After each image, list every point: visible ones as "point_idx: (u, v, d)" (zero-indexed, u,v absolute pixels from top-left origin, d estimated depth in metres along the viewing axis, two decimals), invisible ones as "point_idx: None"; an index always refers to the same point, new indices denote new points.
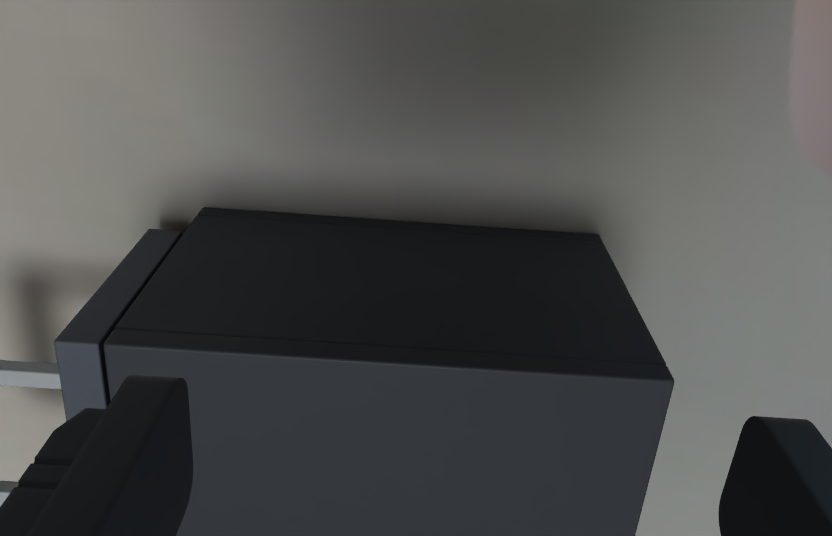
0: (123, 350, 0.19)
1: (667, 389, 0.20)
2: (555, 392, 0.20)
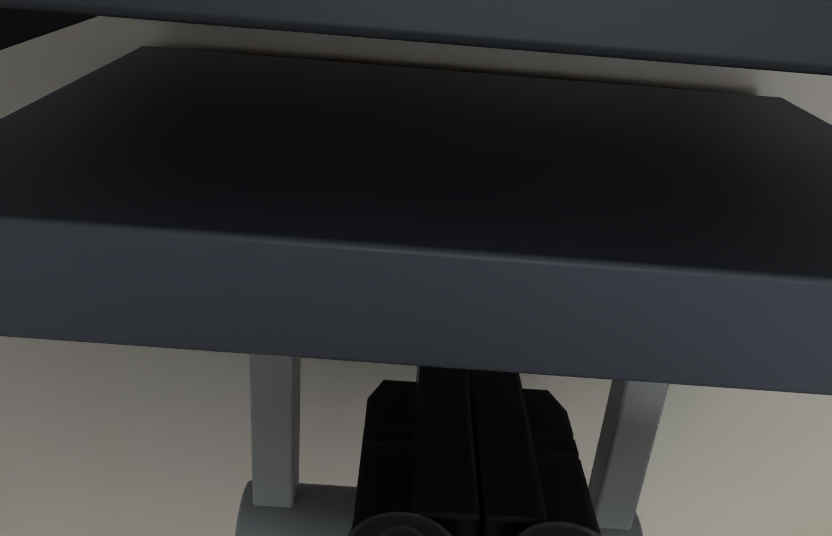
0: None
1: None
2: None
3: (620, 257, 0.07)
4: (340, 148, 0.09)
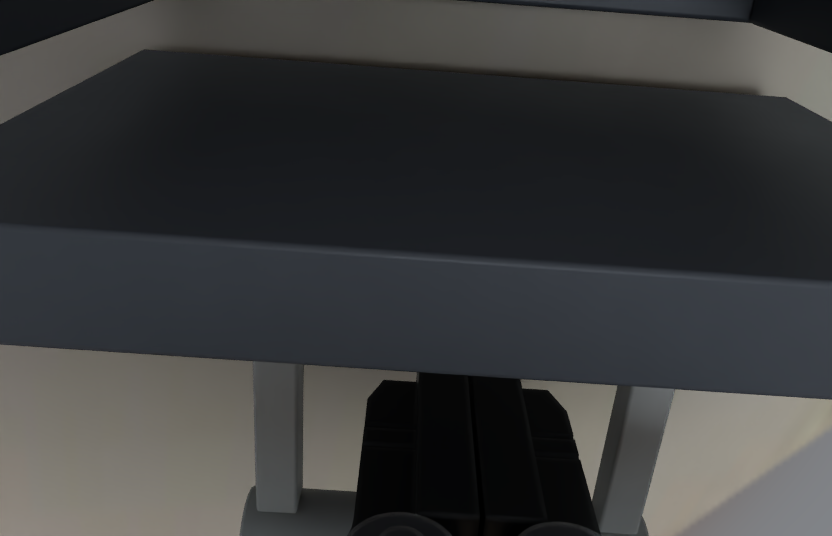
0: None
1: None
2: None
3: (626, 262, 0.07)
4: (343, 152, 0.09)
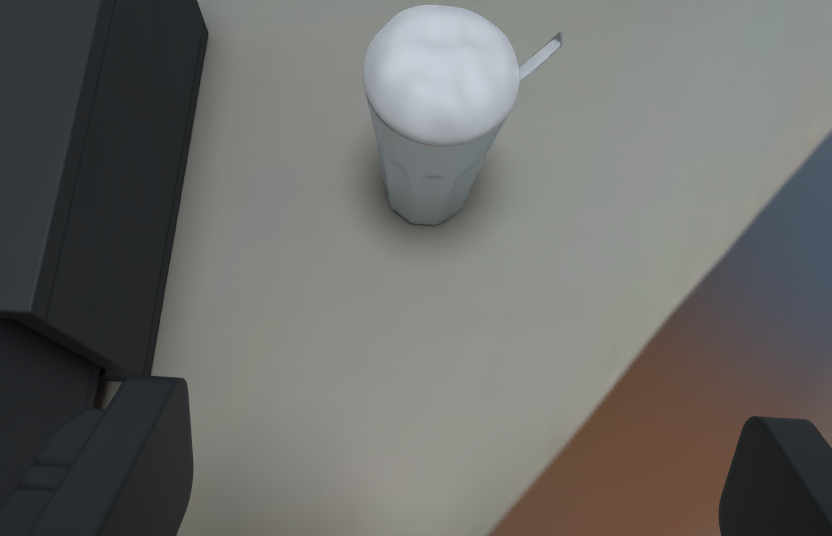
0: None
1: None
2: None
3: None
4: None
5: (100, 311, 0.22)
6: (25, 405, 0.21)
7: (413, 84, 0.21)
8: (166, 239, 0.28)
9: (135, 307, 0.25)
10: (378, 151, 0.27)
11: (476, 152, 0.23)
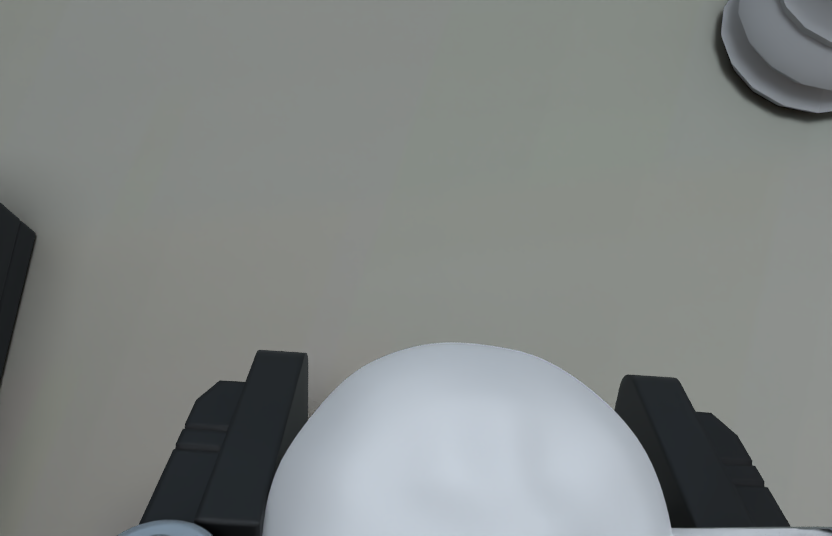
0: None
1: None
2: None
3: None
4: None
5: None
6: None
7: None
8: None
9: None
10: None
11: None
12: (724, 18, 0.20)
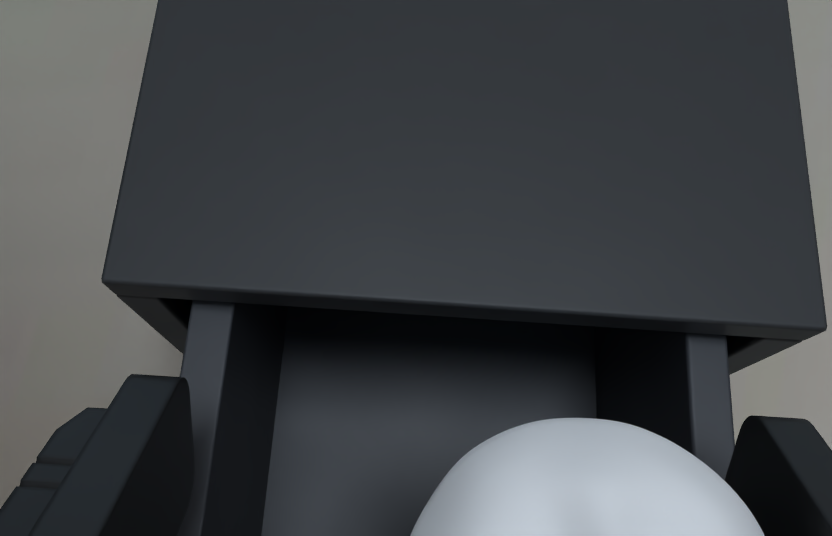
0: (114, 254, 0.13)
1: None
2: None
3: None
4: None
5: None
6: None
7: None
8: None
9: None
10: None
11: None
12: None
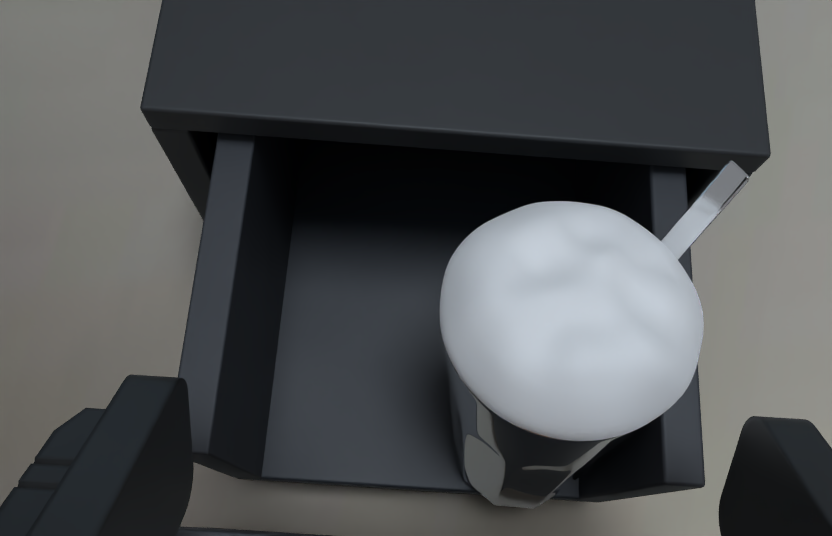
0: (151, 86, 0.15)
1: None
2: None
3: None
4: None
5: None
6: None
7: (579, 357, 0.12)
8: None
9: None
10: (467, 452, 0.17)
11: None
12: None
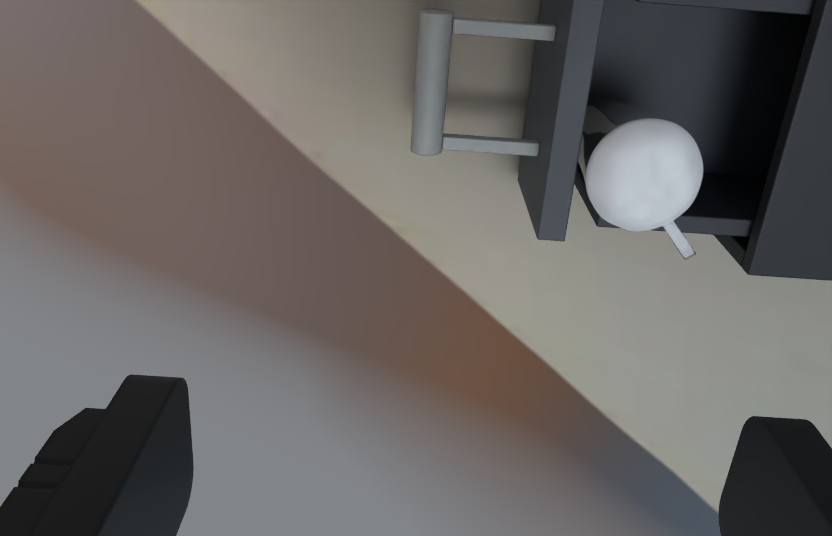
0: None
1: None
2: None
3: (582, 133, 0.31)
4: None
5: None
6: None
7: (617, 178, 0.29)
8: None
9: None
10: (597, 112, 0.34)
11: None
12: None
